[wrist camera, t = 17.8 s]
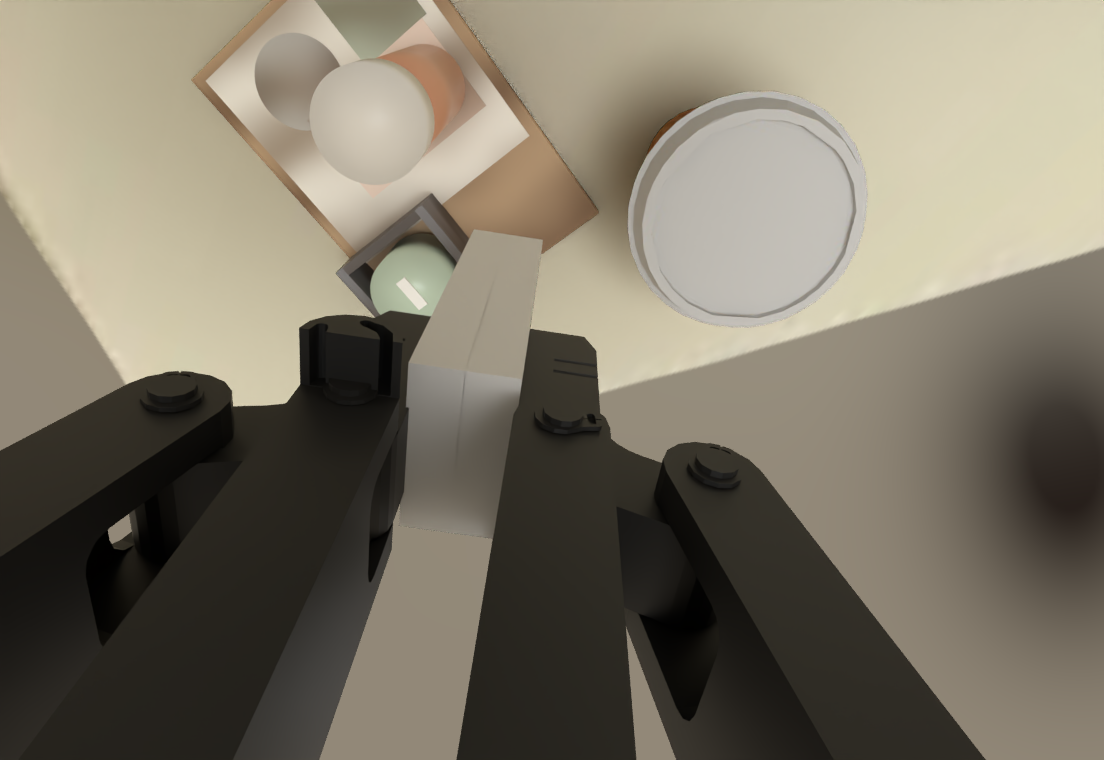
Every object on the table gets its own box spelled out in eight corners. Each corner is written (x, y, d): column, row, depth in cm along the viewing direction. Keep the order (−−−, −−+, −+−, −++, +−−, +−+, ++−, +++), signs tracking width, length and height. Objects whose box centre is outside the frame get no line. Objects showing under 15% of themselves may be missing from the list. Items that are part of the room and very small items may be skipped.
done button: (370, 263, 39) (352, 285, 36) (428, 217, 38) (415, 236, 35) (422, 321, 41) (408, 347, 38) (479, 279, 40) (470, 302, 36)
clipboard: (196, 79, 36) (161, 84, 33) (378, -101, 32) (357, -114, 29) (424, 335, 43) (412, 360, 40) (598, 210, 39) (600, 226, 36)
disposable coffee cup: (776, 45, 35) (865, 56, 24) (804, 226, 39) (890, 303, 28) (593, 106, 36) (600, 141, 26) (638, 273, 40) (661, 363, 30)
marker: (374, 78, 35) (285, 118, 24) (431, 21, 34) (364, 35, 23) (430, 141, 37) (370, 207, 25) (486, 89, 35) (450, 134, 24)
